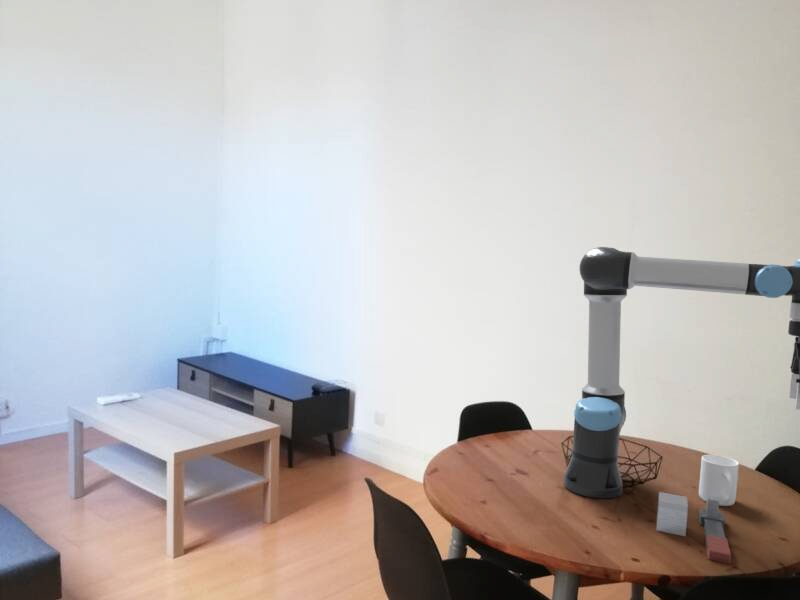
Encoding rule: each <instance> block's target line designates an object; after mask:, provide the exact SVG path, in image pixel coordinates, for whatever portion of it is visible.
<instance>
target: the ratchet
mask: <svg viewBox="0 0 800 600" xmlns="http://www.w3.org/2000/svg"><path fill="white" fill-rule="evenodd" d="M705 505H706V507H705V509H704V508H703V509H702V508H699V511H698V519H699V525H700V526H703V530H704V535H705V547H706V553H707V558H708V560H710V561H713V562H719V563H724V564H728V565H730V564H731V560H732V559H731V558H732V554H731V549H730V546H729V541H728V538H727V537H726V533H725V522H726V521H725V518H724V517H725V516H724V513H723V512H720V511H719V510H720V505H719V498H718V497H712V496H707V502H706V504H705Z"/></svg>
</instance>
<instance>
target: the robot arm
mask: <svg viewBox="0 0 800 600" xmlns="http://www.w3.org/2000/svg"><path fill="white" fill-rule="evenodd" d="M579 263H580V264H579V273H580V274H579V275H580V277H581V279H582V280H583V296H585V298H586V299H587V300H588V349H587V352H588V353H587V356H588V357H587V383H586V384H585V385H584V386H583V387H582V388H581V399H580V400H578V401H577V402H576V404H575V409H574V412H573V416H574V417H573V418H574V422H573V425H574V426H573V436H572V437H573V438H572V450H571V452H572V453H571V458H570V461H569V462H568V465H567V468H566V470H565V472H564V474H563V487H565V488H566V489H567V490H569V491H570V492H572V493H575V494H577V495H580V496H583V497H588V498H593V499H614V498H618V497H620V496H621V495H622V494H623V479H622V476H621V472H620V468H619V464H618V459H619V458H618V457H619V444H620V434H621V432H622V428H623V427H624V425H625V422H626V419H627V410H626V407H625V404H626V403H625V399H626V398H625V397H626V396H625V393H626V391H625V390H624V389H623V387H621V385H620V368H621V367H620V362H621V360H620V357H621V321H622V320H621V318H622V316H621V315H622V312H621V311H622V301H624V299H625V298H626V297H627V295H628V290H631V289H632V288H634V287H646V288H658V289H660V288H661V289H670V290H671V289H672V290H683V291H695V292H697V291H698V292H709V293H723V294H733V295H746V296H747V295H748V296H756V297H757V296H758V297H765V298H770V299H775V298H776V299H777V298H781V297H782V296H787V297H791V302H790V310H789V318H790V319H791V320H789V322H788V335H789V336H793V337H794V339H795V341H794V344H793V347H794V348H793V353H792V358H791V364H790V367H789V368H790V372H791V373H790V381H789V382H790V383H789V391H788V399H793V400H795V407H794V408H795V410H800V258H798V259H796V260H795V262H794V264H793V265H788V266H787V265H780V264H760V263H759V264H757V263H745V262H728V261H714V260H713V261H712V260H699V259H698V260H695V259H680V258H665V257H653V256H652V257H649V256H638V255H637V254H636V253H635V252H633V251H623V250H621V251H620V250H619V249H616V248H615V247H608V246H599V247H595V248H592V249H590V250H588V251H587V252H586V253H585V254H584V255H583V257H582V259H581V260H580V262H579Z"/></svg>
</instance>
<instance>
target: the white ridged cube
mask: <svg viewBox="0 0 800 600" xmlns="http://www.w3.org/2000/svg"><path fill="white" fill-rule="evenodd" d="M688 509H689V504H688V497H687V496H684V495H679V494H678V495H677V494H671V493H667V492H661V491H658V501H657V511H656V531H657V532H662V533H667V534H672V535H677V536H682V537H686V533H687V521H688Z"/></svg>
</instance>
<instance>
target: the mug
mask: <svg viewBox="0 0 800 600" xmlns="http://www.w3.org/2000/svg"><path fill="white" fill-rule="evenodd" d="M739 469H740V462H738V460H735V459H734V458H731V457H727V456H724V455H718V454H704V455H702V456H701V462H700V474H699V483H698V484H699V485H698V497H699V498H700V499H701V500H702V501H704V502H706V503H707V496H712V497H718V498H719V507H720V506H722V507H729V506H734V504H735V503H736V498H737V488H738V480H739Z"/></svg>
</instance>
